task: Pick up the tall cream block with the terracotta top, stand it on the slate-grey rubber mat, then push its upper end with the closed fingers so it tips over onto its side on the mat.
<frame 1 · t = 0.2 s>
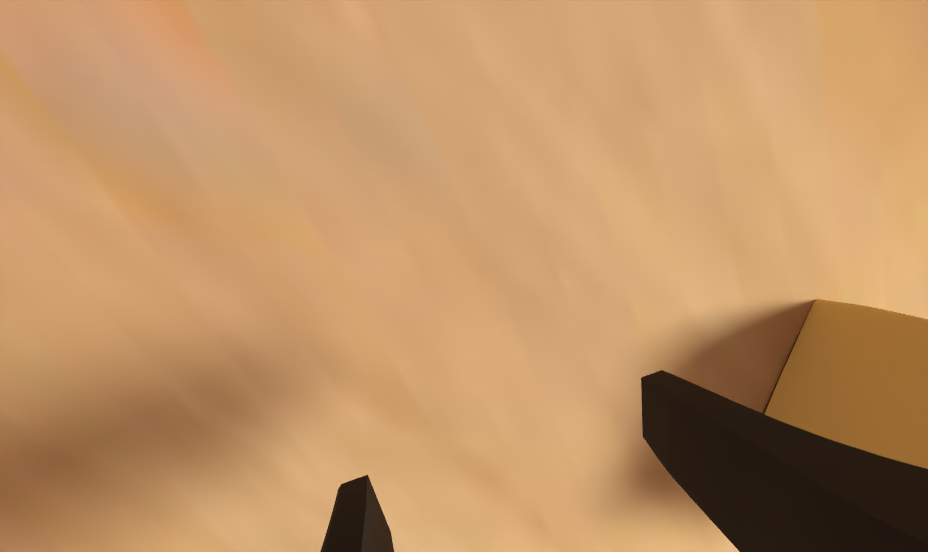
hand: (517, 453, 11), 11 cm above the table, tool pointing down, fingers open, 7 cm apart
cheese: (828, 386, 28), on the table
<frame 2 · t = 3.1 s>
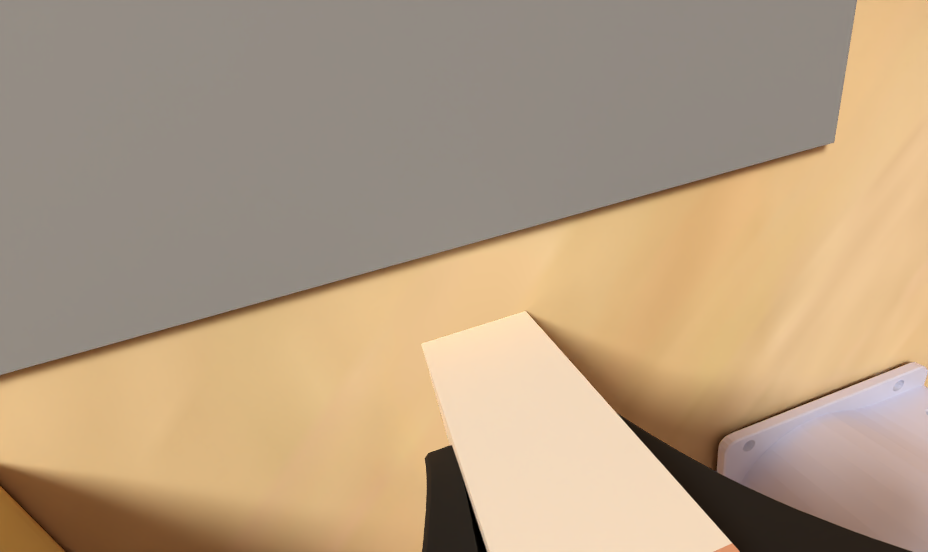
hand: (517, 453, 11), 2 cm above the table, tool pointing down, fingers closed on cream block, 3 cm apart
cream block: (489, 398, 13), on the table, touching gripper
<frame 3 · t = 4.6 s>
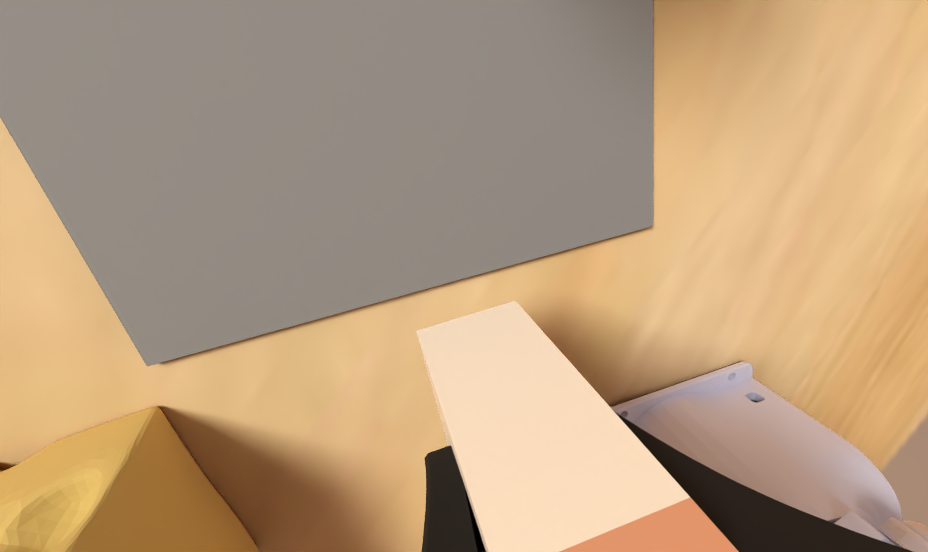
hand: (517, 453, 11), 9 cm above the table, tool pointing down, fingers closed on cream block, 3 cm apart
slate mat: (381, 116, 16), on the table
cream block: (481, 384, 13), point 6 cm above the table, touching gripper
cheese: (108, 518, 19), on the table
when the fingers open (3 cm above the table, at t = 6.4 s): cream block stays where it is, resting on slate mat.
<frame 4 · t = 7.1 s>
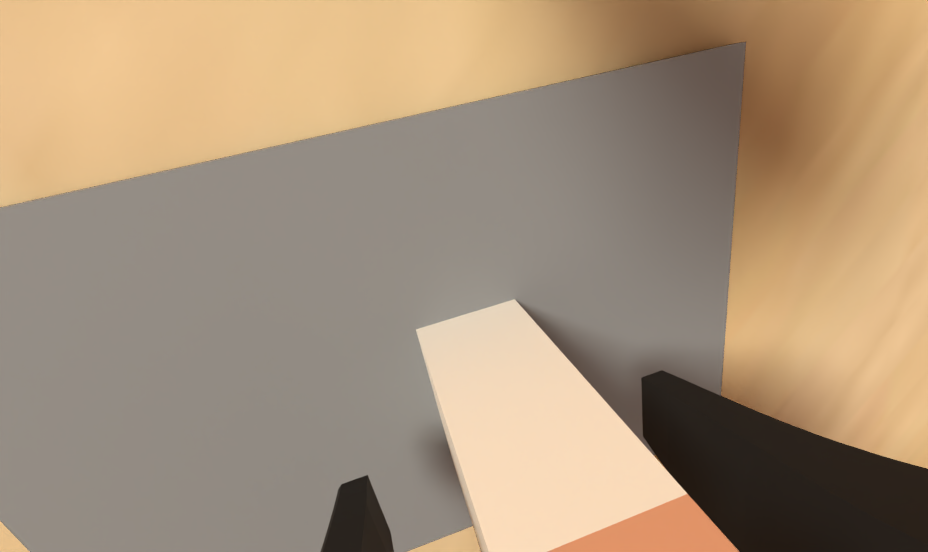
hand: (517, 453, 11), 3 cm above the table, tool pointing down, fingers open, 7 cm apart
slate mat: (410, 369, 13), on the table
cream block: (481, 382, 13), resting on slate mat
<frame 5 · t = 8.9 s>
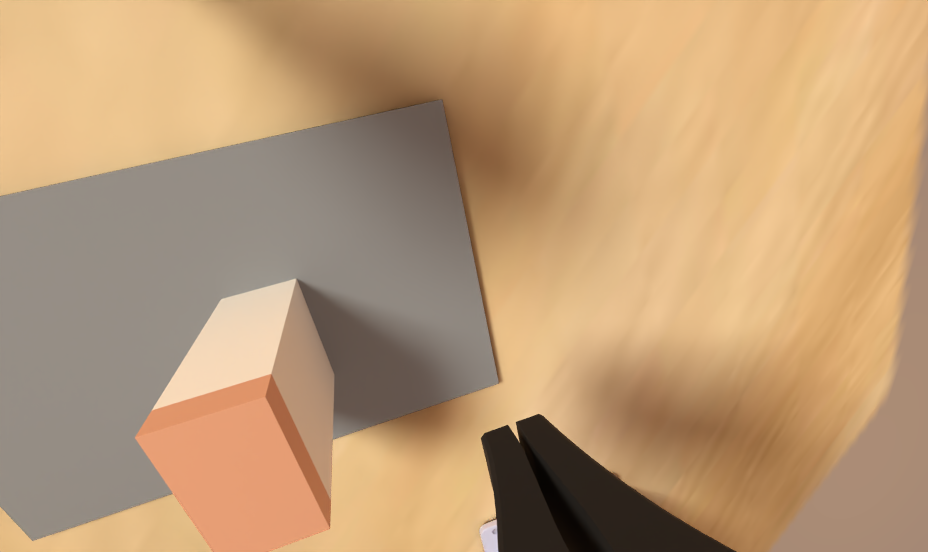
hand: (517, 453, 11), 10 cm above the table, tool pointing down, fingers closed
slate mat: (226, 329, 18), on the table
cream block: (281, 339, 19), resting on slate mat
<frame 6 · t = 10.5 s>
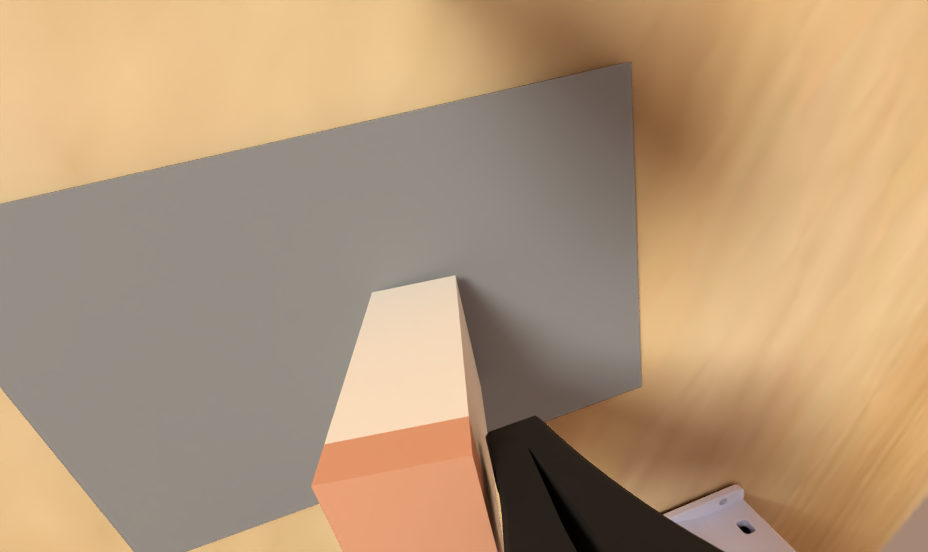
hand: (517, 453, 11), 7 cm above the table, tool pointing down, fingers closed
slate mat: (370, 327, 16), on the table
cream block: (429, 342, 16), point 1 cm above the table, tilted 12°, touching slate mat
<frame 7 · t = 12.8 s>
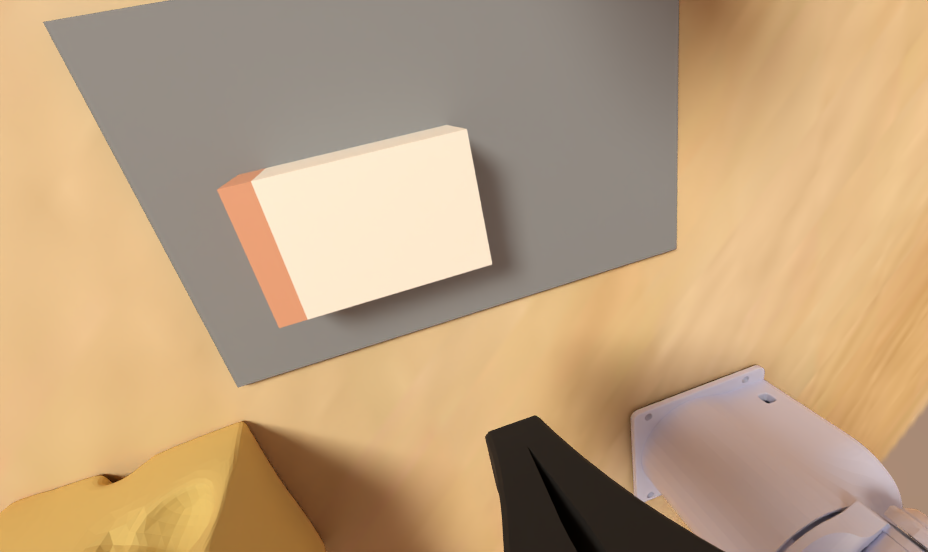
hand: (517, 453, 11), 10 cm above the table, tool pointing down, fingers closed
slate mat: (442, 164, 18), on the table
cream block: (469, 193, 17), point 2 cm above the table, tilted 90°, touching slate mat
cheese: (196, 520, 21), on the table
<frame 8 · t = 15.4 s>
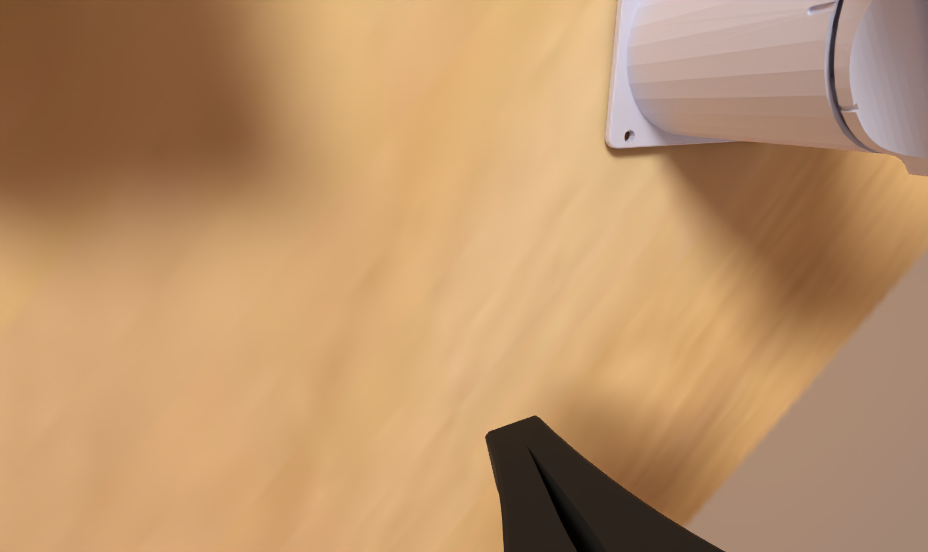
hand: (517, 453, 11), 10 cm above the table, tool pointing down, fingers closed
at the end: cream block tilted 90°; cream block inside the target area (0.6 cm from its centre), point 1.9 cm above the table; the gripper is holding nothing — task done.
